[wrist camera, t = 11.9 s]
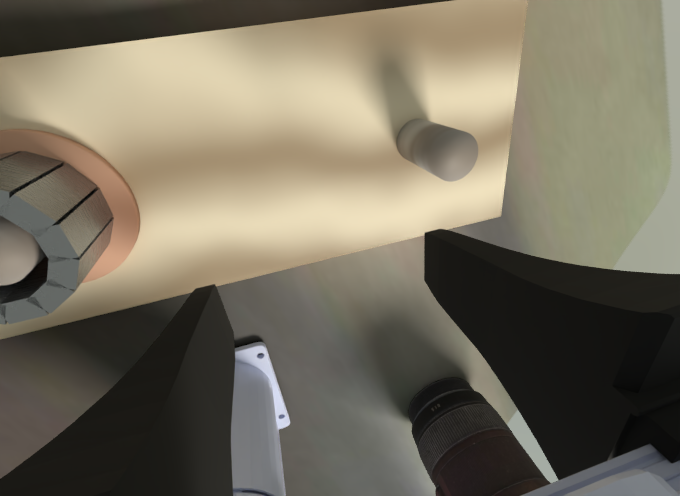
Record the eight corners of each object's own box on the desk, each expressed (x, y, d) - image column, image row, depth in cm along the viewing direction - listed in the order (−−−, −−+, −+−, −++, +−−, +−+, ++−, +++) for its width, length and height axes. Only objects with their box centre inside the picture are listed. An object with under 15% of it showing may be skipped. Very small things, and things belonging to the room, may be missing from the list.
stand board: (486, 208, 24) (553, 246, 19) (4, 323, 19) (-82, 418, 14) (508, -4, 18) (615, -32, 13) (-194, 85, 13) (-476, 99, 8)
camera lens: (458, 426, 36) (579, 623, 23) (391, 432, 33) (485, 659, 21) (489, 370, 33) (649, 564, 20) (417, 373, 30) (548, 598, 17)
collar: (139, 216, 16) (112, 258, 13) (61, 287, 17) (15, 345, 13) (15, 123, 13) (-63, 143, 10) (-73, 212, 14) (-175, 261, 10)
